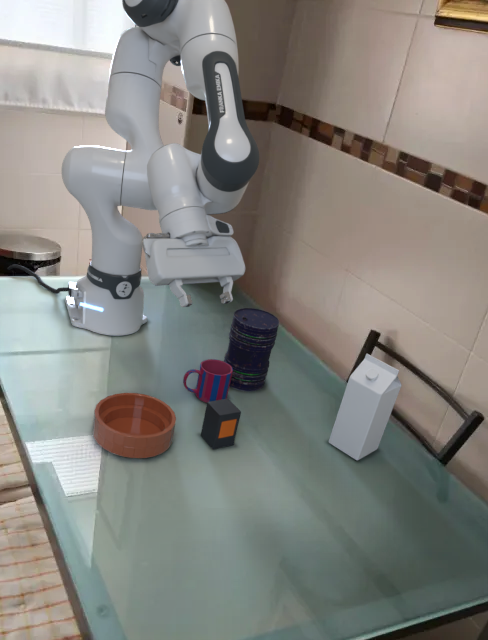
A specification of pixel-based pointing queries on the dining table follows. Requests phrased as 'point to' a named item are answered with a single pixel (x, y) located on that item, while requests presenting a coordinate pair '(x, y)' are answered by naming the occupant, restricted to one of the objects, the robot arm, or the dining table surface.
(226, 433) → the box
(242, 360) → the dark blue cylinder
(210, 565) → the dining table surface
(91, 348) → the dining table surface
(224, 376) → the mug
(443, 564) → the dining table surface
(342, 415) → the milk carton
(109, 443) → the bowl
